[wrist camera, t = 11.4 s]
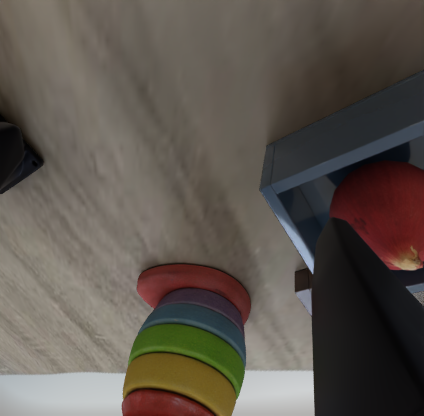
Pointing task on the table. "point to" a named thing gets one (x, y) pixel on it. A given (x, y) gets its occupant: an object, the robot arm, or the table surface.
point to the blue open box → (342, 161)
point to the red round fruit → (385, 210)
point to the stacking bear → (187, 344)
